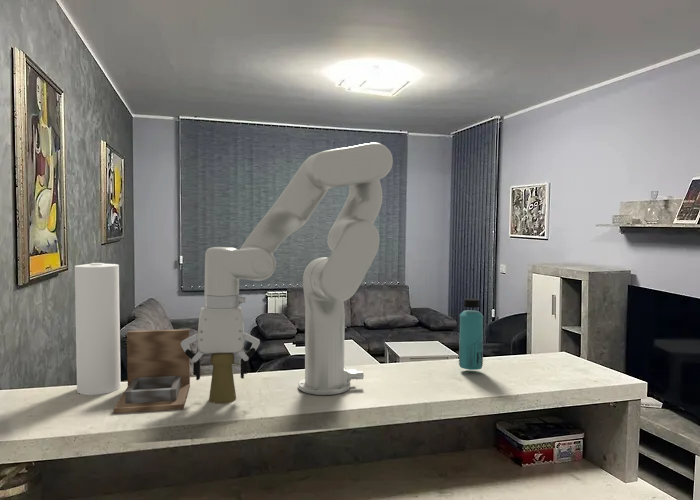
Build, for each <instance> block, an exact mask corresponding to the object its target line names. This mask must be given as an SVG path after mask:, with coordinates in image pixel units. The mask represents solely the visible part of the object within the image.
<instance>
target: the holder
mask: <svg viewBox="0 0 700 500" xmlns="http://www.w3.org/2000/svg"><path fill="white" fill-rule="evenodd" d="M190 330H191V329H190V328H187V329H186V328H185V329H184V328H183V329H182V328H181V329H158V330H157V329H154V330H128V331H127V332H126V353H127V354H126V357H127V360H126V362H127V373H126V374H127V387H126V389H125V390H124V392H123V393H122V394H121V397H119V399H118V401H117V402H116V404H115V406H114V407H113V410H112V411H113V412H112V413H113V414H126V413H127V414H128V413H141V412H142V413H143V412H158V411H171V410H172V411H176V410H184V408H185V406H186V402H187V399H188V394H189V391H190V388H191V364H190V363H191V359H190V358H189V357H188V356H187V355H186V354H185V352H184V350H183V348H182V346H181V342H182V341H183V340H185V339H187V338H189V337H191V336H190V335H191V334H190V333H191V331H190ZM190 345H191V344H189V347H191V346H190Z"/></svg>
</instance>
